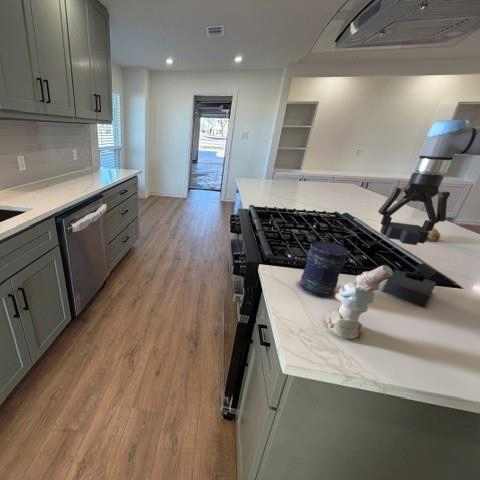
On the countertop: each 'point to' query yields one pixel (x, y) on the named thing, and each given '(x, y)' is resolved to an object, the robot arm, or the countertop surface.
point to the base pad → (409, 288)
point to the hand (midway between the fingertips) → (401, 236)
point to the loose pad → (406, 233)
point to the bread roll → (433, 235)
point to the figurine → (356, 302)
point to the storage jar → (323, 268)
